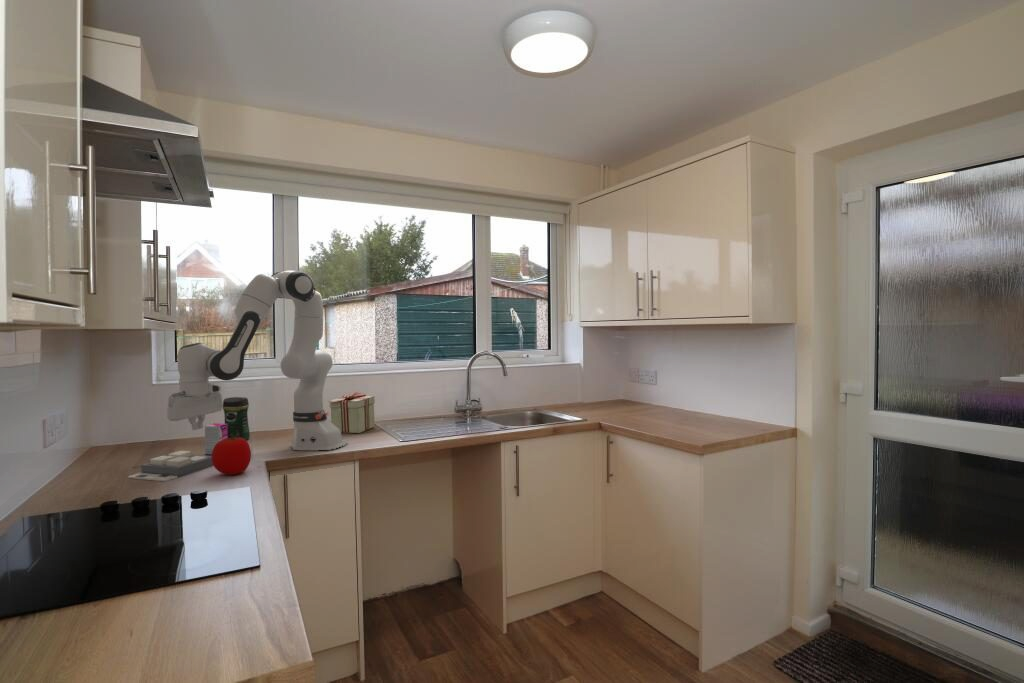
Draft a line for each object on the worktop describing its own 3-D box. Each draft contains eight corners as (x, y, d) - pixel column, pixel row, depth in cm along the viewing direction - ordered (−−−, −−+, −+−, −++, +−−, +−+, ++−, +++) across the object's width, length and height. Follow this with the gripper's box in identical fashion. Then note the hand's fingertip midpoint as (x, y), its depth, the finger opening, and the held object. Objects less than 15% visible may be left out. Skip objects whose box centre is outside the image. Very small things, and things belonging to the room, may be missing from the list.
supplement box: (219, 456, 198) (218, 426, 198) (204, 455, 199) (203, 426, 198) (228, 452, 204) (227, 423, 204) (214, 451, 205) (213, 422, 204)
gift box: (340, 425, 254) (339, 390, 253) (376, 427, 251) (375, 391, 250) (322, 433, 237) (321, 395, 236) (360, 434, 234) (359, 396, 233)
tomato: (260, 470, 179) (259, 434, 178) (231, 480, 168) (230, 441, 167) (232, 467, 183) (231, 431, 183) (203, 476, 172) (202, 439, 172)
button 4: (208, 463, 185) (207, 456, 185) (196, 467, 181) (196, 460, 180) (196, 462, 187) (196, 455, 187) (184, 466, 182) (184, 459, 182)
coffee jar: (253, 438, 228) (251, 396, 227) (242, 442, 220) (240, 398, 219) (232, 437, 229) (230, 395, 228) (220, 442, 221) (219, 398, 220)
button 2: (191, 464, 179) (190, 457, 178) (178, 468, 174) (178, 461, 174) (179, 463, 180) (179, 456, 180) (166, 467, 175) (166, 460, 175)
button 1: (174, 463, 180) (174, 456, 180) (161, 467, 176) (161, 460, 175) (163, 462, 182) (163, 455, 182) (150, 466, 177) (149, 459, 177)
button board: (216, 464, 187) (215, 456, 187) (165, 481, 167) (165, 472, 167) (181, 461, 191) (181, 453, 191) (127, 477, 171) (127, 468, 171)
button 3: (192, 458, 187) (191, 451, 187) (179, 461, 182) (179, 455, 182) (180, 457, 188) (180, 450, 188) (168, 460, 184) (168, 454, 184)
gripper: (176, 393, 172) (179, 435, 172) (224, 385, 191) (227, 423, 192) (160, 394, 173) (164, 435, 174) (210, 386, 193) (213, 423, 193)
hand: (197, 429), depth 183 cm, fingers closed
